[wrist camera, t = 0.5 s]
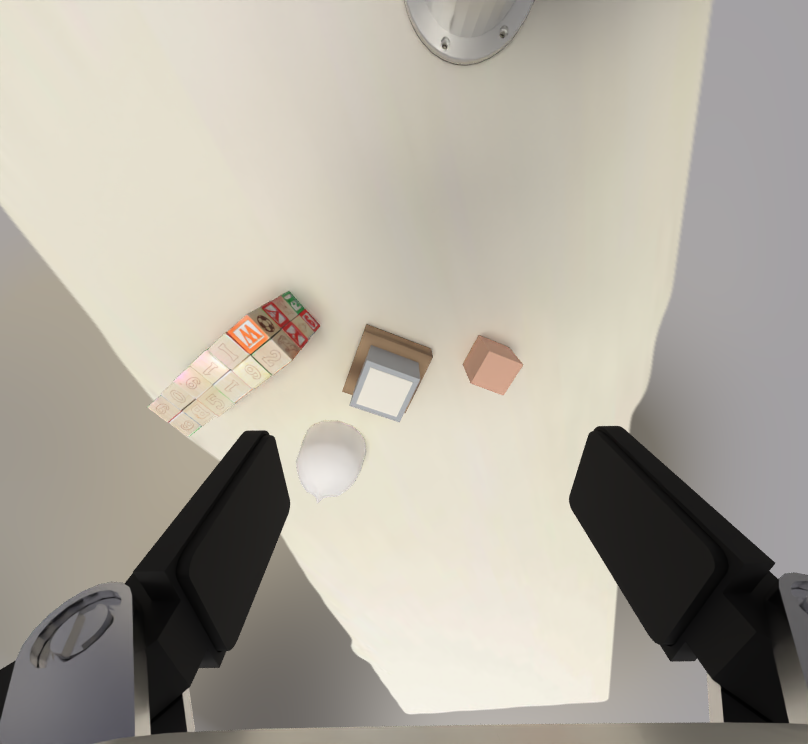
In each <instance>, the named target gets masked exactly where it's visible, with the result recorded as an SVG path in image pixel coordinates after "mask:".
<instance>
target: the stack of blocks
mask: <svg viewBox="0 0 808 744" xmlns="http://www.w3.org/2000/svg"><path fill="white" fill-rule="evenodd" d="M319 327H320V325H319V324H318V323H317V322H316V320H315V319H314V318H313V317H312V316H311V315H310V314H309V313H308V312H307V310H306V309H304V308H303V306H302V305H301V304H300V303H299V302H298V301H297V300H296V298H295V297H294V296H293V295H292V294H291V293H290V292H289V291H288V292H286V293H284V294H282V295H280V296H279V297H278V298H276V299H274V300H273V301H270V302H268V303H266V304H264V305H263V306H261V307H259V308H258V309H256V310H254V311H252V312H250V313H248V314H246V315H245V316H244V317H243V318H242V319H241V320H240V321H239V322H238V323H236V324H235V325H234V326H233V327H232V328H231V329H230V330H229V331H228V332H226V333H225V334H223V335H222V336H221V337H220V338H219V339H218V340H217V341H216V342H215V343H214V344H213V345H212V346H211V347H210V348H208V349H207V350H205V351H204V352H203V353H202V354H201V355H200V356H199V357H198V358H197V359H196V360H194V361H193V362H192V363H191V364H190V366H189V367H188V368H186V369H185V370H184V371H183V372H182V373H181V374H180V375H179V376H178V377H177V378H176V379H175V380H174V382H173V383H172V384H171V385H170V386H169V387H167V388H166V389H165V390H164V391H163V392H162V393H161V395H160V396H159V397H158V398H157V399H156V400H155V401H153V402H152V403H151V404H150V405H149V406H148V408H149V409H150V410H151V411H153V412H154V413H156V414H157V415H158V416H159V417H161V418H162V419H163V420H165V421H166V422H169V423H170V424H171V425H172V426H174V427H175V428H176V429H178V430H179V431H180V432H182V433H183V434H184V435H186V436H187V437H189V436H191V435H192V434H193V433H194V432H196V431H197V430H198V429H199V428H200V427H202V426H204V425H205V424H206V423H207V422H209V421H210V420H211V419H212V418H214V417H215V416H216V415H217V416H220V415H222V414H223V413H224V412H225V411H227V410H228V409H229V408H230V407H232V406H233V405H234V404H235V403H236V402H237V401H238V400H239V399H241V398H242V397H243V396H244V395H246V394H247V393H248V392H249V391H251V390H252V389H255V388H256V387H258V386H259V385H260V384H261V383H263V382H264V381H265V380H267V379H268V378H269V377H271V376H272V375H273V374H275V373H276V372H278V371H279V370H280V369H282V368H283V367H284V366H286V365H287V364H288V363H290V362H291V361H292V360H293V359H294V358H295V356H296V355H297V354H298V353H299V351H300V350H301V349H302V348H303V347H304V346H305V344H306V343H307V342H308V340H309V339H310V337H311V336H312V335H313V334H314V333H315V332H316V331H317V329H318V328H319Z"/></svg>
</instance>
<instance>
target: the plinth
mask: <svg viewBox="0 0 808 744" xmlns="http://www.w3.org/2000/svg"><path fill="white" fill-rule="evenodd" d="M371 345H373V346H375V347H378V348H381V349H383V350H386V351H389V352H391V353H394V354H397V355H399V356H402V357H405V358H408V359H410V360H413V361H416V362H418V363H419V372H420V381H419V383H418V385H417V387H416V389H415V391H414V394H415V392H416V390H417V388H418V386H419V384H420V382H421V380H422V378H423V376H424V374H425V372H426V370H427V368H428V366H429V364H430V362H431V360H432V358H433V356H432V351H431V349H430V348H428V347H425V346H422V345H420V344H417V343H414V342H412V341H409V340H407V339H404V338H401V337H399V336H396V335H394V334H391V333H388V332H386V331H383V330H380V329H378V328H375V327H373V326H370V325H367V324H366V327H365V330H364V333H363V335H362V338H361V341H360V344H359V346H358V349H357V352H356V355H355V357H354V360H353V363H352V366H351V368H350V371H349V374H348V377H347V380H346V382H345V385H344V388H343V391H342V392H345V393H348V394H351V395H353V392H354V389H355V386H356V383H357V380H358V378H359V375H360V372H361V370H362V367H363V365H364V362H365V359H366V357H367V354H368V351H369V349H370V346H371ZM414 394H413V396H414ZM413 396H412V398H411V400H410V402H409V404H408V406H407V408H406V410H405V412H404V413H406V411H407V409H408V407H409V405H410V403H411V401H412V399H413Z"/></svg>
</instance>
